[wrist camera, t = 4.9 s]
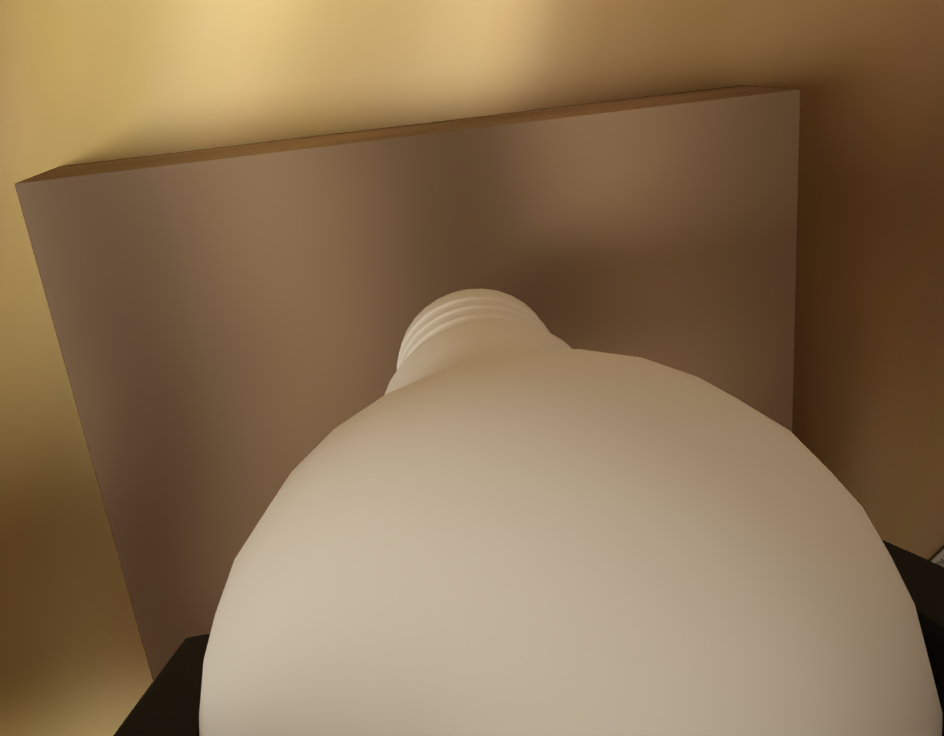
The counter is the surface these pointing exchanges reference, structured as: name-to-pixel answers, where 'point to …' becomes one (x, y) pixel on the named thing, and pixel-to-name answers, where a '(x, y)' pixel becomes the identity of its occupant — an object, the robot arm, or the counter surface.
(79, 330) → the walnut base
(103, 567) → the counter surface
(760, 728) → the lightbulb
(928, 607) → the robot arm
